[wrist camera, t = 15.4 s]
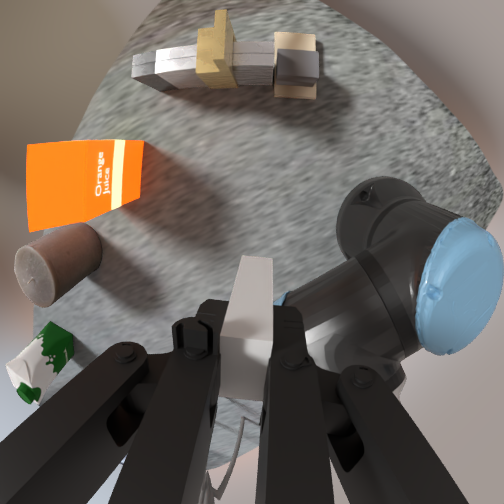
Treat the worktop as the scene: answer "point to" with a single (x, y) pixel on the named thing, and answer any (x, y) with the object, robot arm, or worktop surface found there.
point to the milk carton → (41, 362)
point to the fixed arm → (184, 76)
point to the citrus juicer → (209, 492)
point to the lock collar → (216, 53)
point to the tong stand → (295, 66)
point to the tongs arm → (192, 52)
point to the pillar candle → (57, 262)
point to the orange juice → (80, 180)
